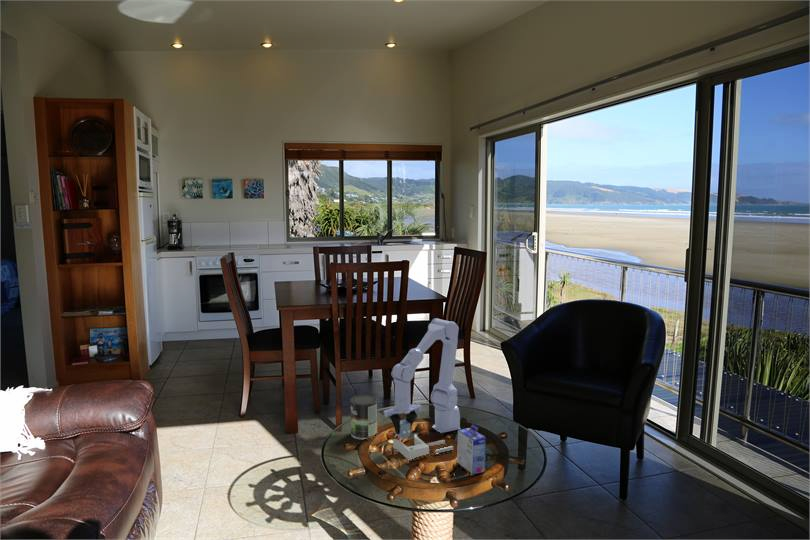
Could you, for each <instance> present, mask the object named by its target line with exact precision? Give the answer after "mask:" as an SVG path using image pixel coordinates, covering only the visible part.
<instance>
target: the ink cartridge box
mask: <svg viewBox="0 0 810 540" xmlns="http://www.w3.org/2000/svg"><path fill="white" fill-rule="evenodd" d="M478 430H479V427H478V426H476V425H475V424H471V426H470V427H466V428H462V429H457V448H456V449H457V452H456V454H457V455H456V462H457V464H459V465H460V466H461V467H462V468H464V469H465V470H467V471H468V472H469V473H470V474H471V475H477V474H480V473H481V474H482V473H486V444H487V443H486V442H487V441H486V439H487V437H486V436H484V435H483V434H481V433H479V432H478Z"/></svg>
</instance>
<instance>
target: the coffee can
mask: <svg viewBox="0 0 810 540" xmlns="http://www.w3.org/2000/svg"><path fill="white" fill-rule="evenodd" d="M349 402H350V433H351V434H350V435H351V438H354V439H356V440H360V441H361V440H362V441H363V440H364V439H367V438H370V437H372V436H374V435H375V434H376V433H377V434H378V415H377V414H378V413H377V412H378V407H377V405H378V404H377V403H378V398H377V397H375V396H373V395H371V394H370V395H369V394H361V395H360V394H359V395H355V396H352V397H351V398H350V400H349ZM367 440H368V439H367Z"/></svg>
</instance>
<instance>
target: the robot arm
mask: <svg viewBox="0 0 810 540" xmlns="http://www.w3.org/2000/svg"><path fill="white" fill-rule="evenodd" d="M459 329H460V327H459V326H458V324H457V323H456V322H455V321H449V320H444V319H440V318H438V317H436V318H432V320H431V322H430V323H429V324H428V326H427V332H426V333H425V334H424V336H423V338H422V339H421V341H420V342H419V343H418V345H417V346H416V347H415V348H411V349H409V351H408V353H407V354H406V355H405V356H404V358H402V360H401V361H400V363H397V364H395V365H394V366H393V368H392V369H391V377H392V378H393V383H394V407H391V408H389V409H385V410H383V417H384V418H390V420H391V422H392V424H393V427H394V432H395V434H396V433H397V434H399V433H400V421H402V419H401V417H400V416H399V415H402V414H405V420H407V421H408V422H409V423H411V429H412V427H413V423H414V421H415V419H416V418H417V412H418V411H419V412H421V411H422V405H421V404H419V403H417V404H411V402H412V401H411V399H412V398H411V381H412V380H413V379H414V376H415V372H416V369H417V368H418V367H419V365H420V364H421V363H422V361H423V360H424V358H425V357H424V354H425V353H426V351H428V349H429V348H431V346H432V345H433V344H434V343H435V342H436V341H439V340H440V341H441V342H442V352H441V360H440V361H441V362H440V368H439V375H438V376H439V377H438V381H437V383H435V384H434V385H433V388H432V391H431V392H430V393H431V394H430V402H431V403H432V404H433V407H434V424H432V425H433V426H432V427H431V428H433V430H435V431H436V432H438V433H439V432H440V433H439V434H443V433H447V432H448V433H449V432H452V431H456V430H457V431H458V430H461V426H460V425H461V412H460V409H459V407H458V406H457V405H458V389H457V388H456V387H455V386H454V384H453V380H454V373H455V367H456V366H455V365H456V359H457V358H456V357H457V350H458V342H459V341H458V338H459Z"/></svg>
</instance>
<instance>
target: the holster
mask: <svg viewBox="0 0 810 540" xmlns="http://www.w3.org/2000/svg"><path fill="white" fill-rule="evenodd" d="M426 444H427V445H428V446H434V445H440V444H445V445H446V440H445V439H441V440H436V441H433V442H432V441H431V442H427V443H426ZM450 450H453V451H454V446H453V445H449V446H448V447H444V448H440V449H436V450H435V452H436V453H439V452H445V451H450Z"/></svg>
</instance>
